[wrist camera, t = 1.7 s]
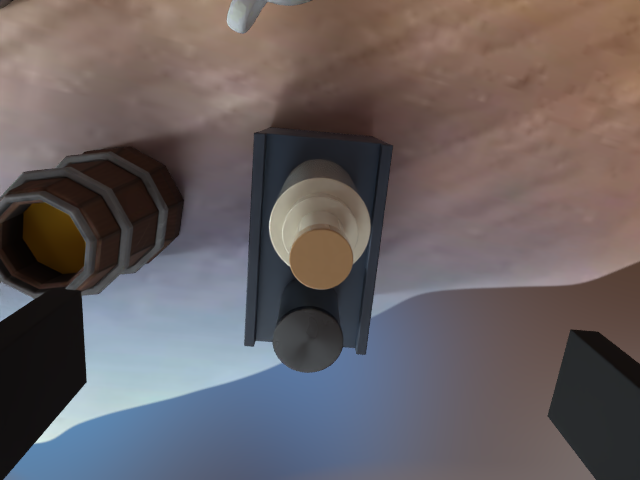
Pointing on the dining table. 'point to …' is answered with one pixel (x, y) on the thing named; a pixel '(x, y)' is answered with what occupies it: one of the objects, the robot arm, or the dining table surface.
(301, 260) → the oil bottle
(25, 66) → the dining table surface
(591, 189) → the dining table surface
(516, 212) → the dining table surface
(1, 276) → the mug
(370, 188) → the blue channel bracket
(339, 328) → the spice tin
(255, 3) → the teacup
